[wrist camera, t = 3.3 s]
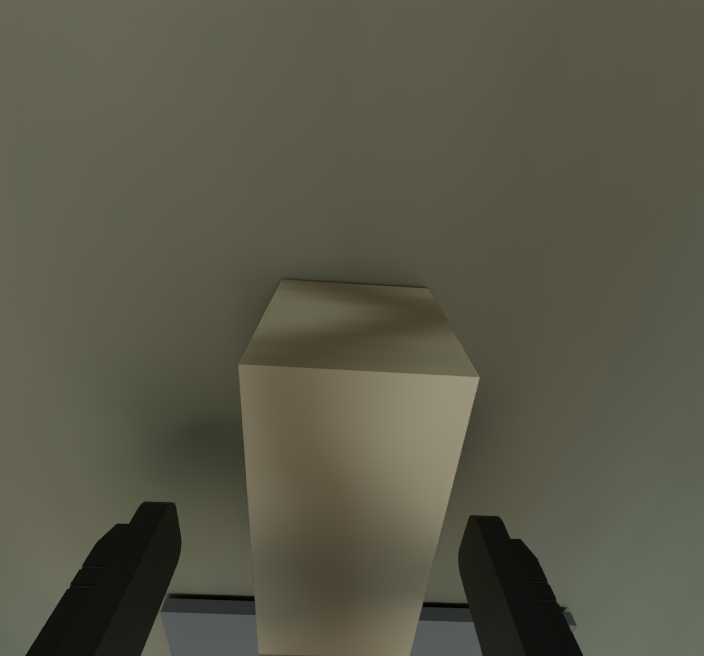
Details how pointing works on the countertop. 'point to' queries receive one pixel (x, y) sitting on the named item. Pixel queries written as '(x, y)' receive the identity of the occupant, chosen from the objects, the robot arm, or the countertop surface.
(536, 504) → the countertop surface
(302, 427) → the maple bar
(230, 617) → the mat
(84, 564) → the robot arm
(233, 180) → the countertop surface
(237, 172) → the countertop surface
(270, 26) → the countertop surface
